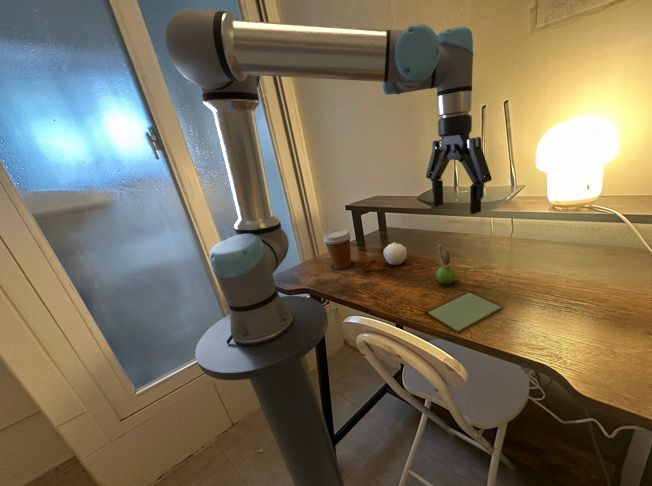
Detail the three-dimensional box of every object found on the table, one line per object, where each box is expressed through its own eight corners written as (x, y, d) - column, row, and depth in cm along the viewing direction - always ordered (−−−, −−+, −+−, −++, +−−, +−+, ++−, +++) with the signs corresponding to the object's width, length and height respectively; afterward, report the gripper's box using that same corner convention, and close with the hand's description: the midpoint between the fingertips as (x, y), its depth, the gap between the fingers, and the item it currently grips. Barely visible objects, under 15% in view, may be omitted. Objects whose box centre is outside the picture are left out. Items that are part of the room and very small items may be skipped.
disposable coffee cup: (345, 272, 103) (338, 239, 98) (324, 269, 108) (316, 237, 103) (360, 261, 110) (355, 229, 105) (340, 259, 115) (333, 228, 110)
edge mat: (457, 332, 66) (457, 330, 66) (428, 313, 74) (427, 312, 74) (501, 308, 71) (501, 306, 71) (469, 293, 79) (469, 292, 79)
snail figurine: (449, 276, 90) (448, 238, 85) (459, 285, 84) (458, 244, 79) (432, 280, 89) (429, 241, 84) (441, 289, 83) (439, 249, 78)
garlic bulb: (407, 258, 106) (405, 237, 103) (408, 267, 100) (406, 245, 96) (385, 260, 107) (382, 240, 104) (384, 269, 101) (381, 248, 97)
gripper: (513, 106, 60) (506, 212, 69) (432, 119, 80) (435, 200, 89) (485, 110, 57) (482, 220, 66) (409, 122, 77) (415, 205, 86)
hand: (455, 209), depth 78 cm, fingers open, 13 cm apart
